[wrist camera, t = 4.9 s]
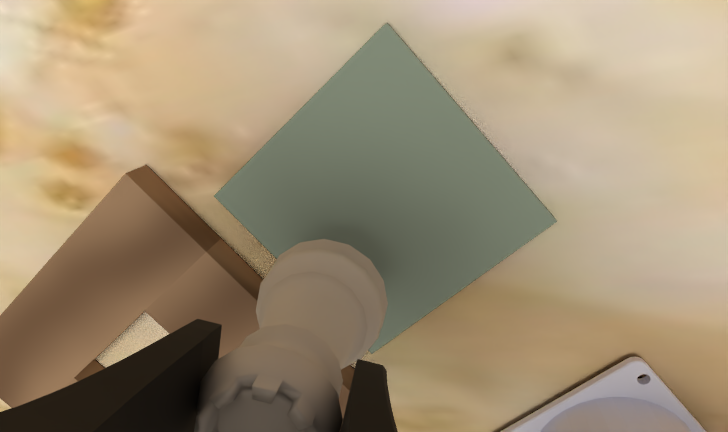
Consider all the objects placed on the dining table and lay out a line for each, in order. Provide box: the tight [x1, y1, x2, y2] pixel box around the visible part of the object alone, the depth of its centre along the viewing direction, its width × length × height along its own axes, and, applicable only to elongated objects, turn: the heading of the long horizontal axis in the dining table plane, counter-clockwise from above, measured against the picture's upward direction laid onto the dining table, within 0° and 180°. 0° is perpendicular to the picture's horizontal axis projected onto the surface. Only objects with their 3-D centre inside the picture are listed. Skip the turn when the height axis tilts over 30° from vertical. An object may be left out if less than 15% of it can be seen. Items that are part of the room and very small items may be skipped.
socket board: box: [0, 165, 355, 431], centre depth 24 cm, size 15×15×2 cm
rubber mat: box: [214, 23, 557, 354], centre depth 20 cm, size 10×10×1 cm
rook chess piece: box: [194, 239, 388, 432], centre depth 13 cm, size 4×4×8 cm
